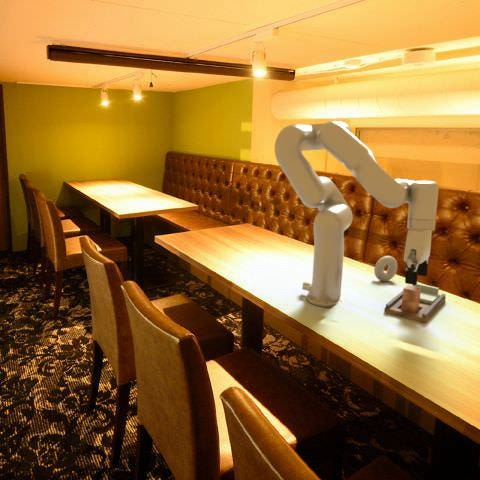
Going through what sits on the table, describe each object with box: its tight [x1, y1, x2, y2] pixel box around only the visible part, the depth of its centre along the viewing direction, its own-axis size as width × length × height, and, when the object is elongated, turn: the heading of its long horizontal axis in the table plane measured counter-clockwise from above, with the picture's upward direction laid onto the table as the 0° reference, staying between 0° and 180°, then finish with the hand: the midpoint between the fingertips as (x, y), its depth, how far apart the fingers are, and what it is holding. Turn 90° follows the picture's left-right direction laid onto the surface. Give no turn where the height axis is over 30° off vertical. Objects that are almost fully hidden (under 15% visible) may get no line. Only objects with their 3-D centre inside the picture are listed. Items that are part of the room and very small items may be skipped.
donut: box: [373, 255, 398, 282], centre depth 165 cm, size 10×4×10 cm, turn 113°
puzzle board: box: [383, 290, 447, 324], centre depth 139 cm, size 12×22×4 cm, turn 141°
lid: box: [411, 282, 441, 304], centre depth 142 cm, size 9×8×3 cm
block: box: [401, 284, 421, 314], centre depth 133 cm, size 4×4×8 cm
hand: (416, 279), depth 131 cm, fingers open, 9 cm apart
